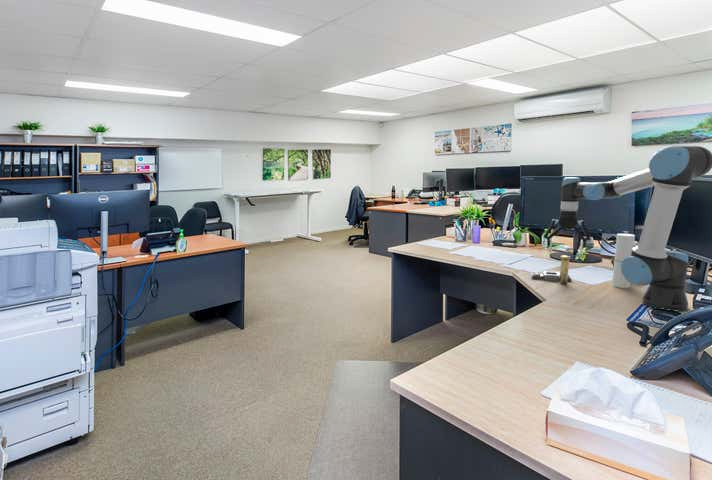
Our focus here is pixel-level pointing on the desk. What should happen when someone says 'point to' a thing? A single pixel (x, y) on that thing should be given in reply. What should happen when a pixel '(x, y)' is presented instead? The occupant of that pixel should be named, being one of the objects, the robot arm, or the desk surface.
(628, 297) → the desk surface
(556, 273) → the chain ends
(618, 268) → the cylindrical container
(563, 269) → the link pin
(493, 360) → the desk surface
